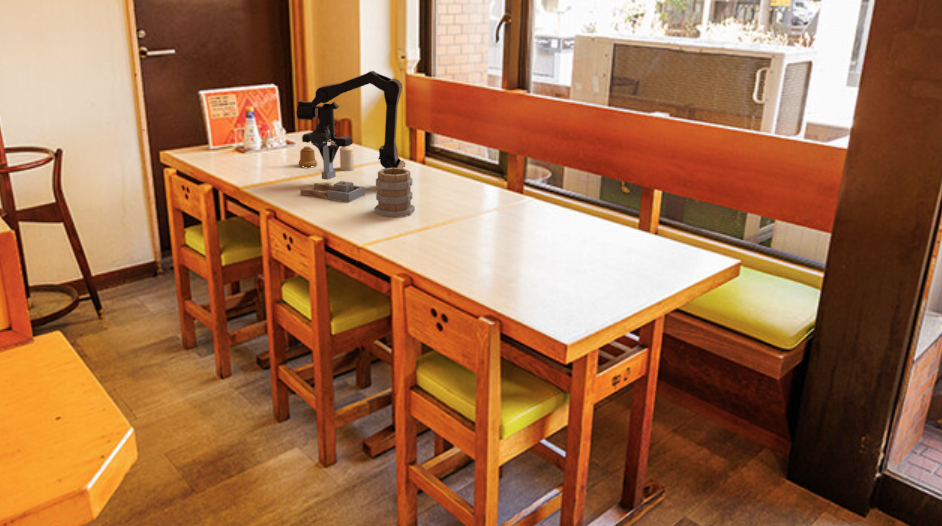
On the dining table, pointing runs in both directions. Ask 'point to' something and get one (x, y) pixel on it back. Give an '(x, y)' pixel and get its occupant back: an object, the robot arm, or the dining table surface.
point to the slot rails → (316, 192)
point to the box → (346, 194)
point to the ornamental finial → (307, 157)
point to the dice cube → (343, 186)
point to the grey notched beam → (327, 165)
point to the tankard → (394, 192)
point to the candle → (347, 158)
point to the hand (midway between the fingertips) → (328, 162)
